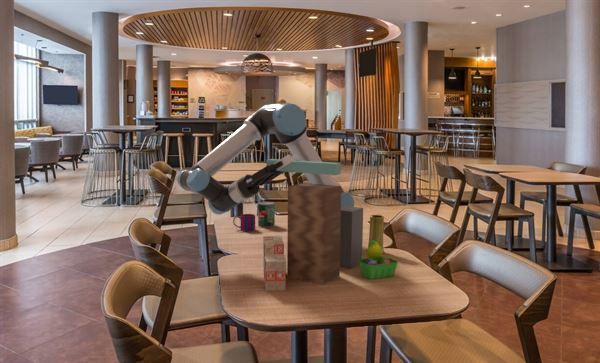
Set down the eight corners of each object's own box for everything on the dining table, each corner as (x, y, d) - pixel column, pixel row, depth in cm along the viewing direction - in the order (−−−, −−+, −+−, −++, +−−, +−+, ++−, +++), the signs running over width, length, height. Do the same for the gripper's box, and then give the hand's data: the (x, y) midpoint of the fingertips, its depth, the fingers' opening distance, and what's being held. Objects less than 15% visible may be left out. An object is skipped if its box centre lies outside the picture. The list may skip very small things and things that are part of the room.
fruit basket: (369, 280, 172) (369, 246, 171) (355, 273, 180) (356, 240, 179) (398, 276, 177) (400, 243, 175) (384, 269, 185) (385, 237, 183)
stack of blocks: (286, 291, 162) (286, 251, 160) (265, 291, 161) (265, 251, 160) (281, 270, 183) (281, 235, 182) (263, 270, 182) (263, 235, 181)
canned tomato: (277, 224, 258) (277, 202, 257) (270, 228, 251) (270, 204, 249) (262, 223, 261) (262, 201, 259) (255, 226, 253) (255, 203, 252)
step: (320, 263, 192) (321, 208, 189) (332, 257, 200) (333, 204, 197) (350, 268, 186) (352, 211, 183) (361, 262, 193) (363, 207, 191)
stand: (287, 277, 175) (287, 186, 171) (303, 269, 184) (304, 182, 180) (324, 284, 168) (326, 189, 164) (339, 276, 176) (341, 186, 173)
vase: (385, 251, 210) (386, 215, 208) (382, 254, 204) (383, 218, 202) (369, 249, 212) (370, 214, 210) (366, 253, 206) (367, 216, 204)
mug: (254, 231, 243) (254, 216, 242) (232, 231, 243) (232, 216, 242) (255, 228, 250) (255, 213, 249) (234, 228, 250) (234, 213, 249)
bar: (266, 170, 179) (266, 159, 179) (272, 169, 182) (272, 159, 182) (335, 175, 166) (335, 163, 165) (340, 174, 169) (340, 163, 168)
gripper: (262, 195, 193) (311, 165, 181) (234, 201, 179) (285, 170, 167) (254, 176, 194) (302, 146, 183) (225, 181, 180) (275, 148, 168)
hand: (294, 157), depth 175 cm, fingers closed on bar, 3 cm apart
